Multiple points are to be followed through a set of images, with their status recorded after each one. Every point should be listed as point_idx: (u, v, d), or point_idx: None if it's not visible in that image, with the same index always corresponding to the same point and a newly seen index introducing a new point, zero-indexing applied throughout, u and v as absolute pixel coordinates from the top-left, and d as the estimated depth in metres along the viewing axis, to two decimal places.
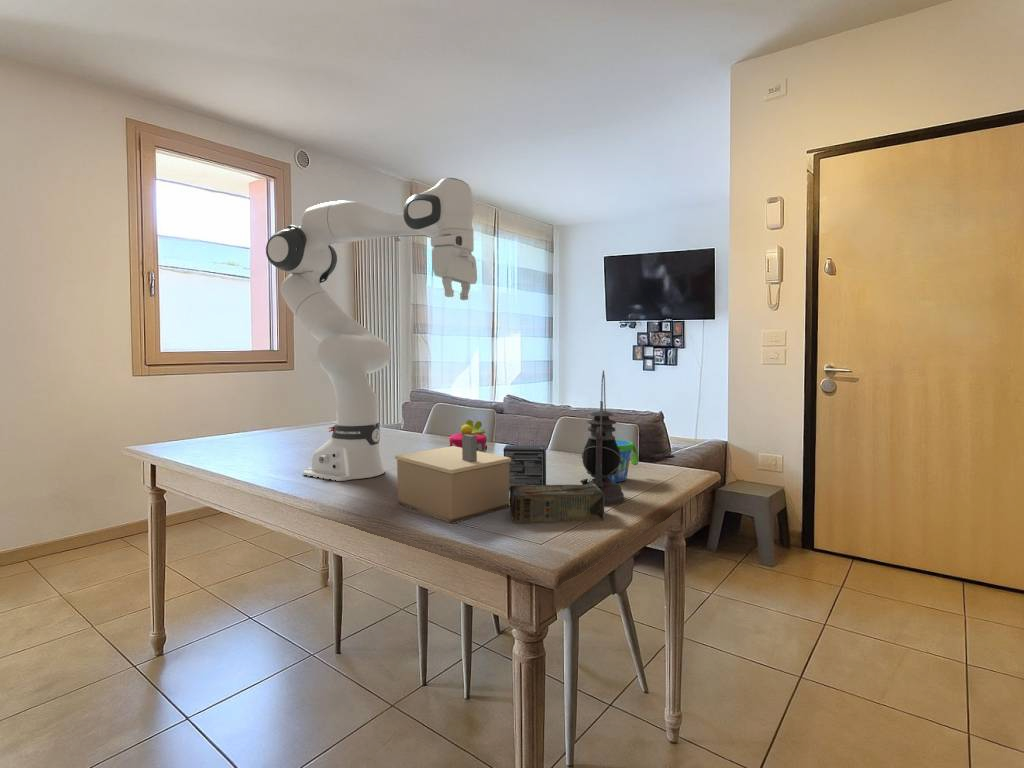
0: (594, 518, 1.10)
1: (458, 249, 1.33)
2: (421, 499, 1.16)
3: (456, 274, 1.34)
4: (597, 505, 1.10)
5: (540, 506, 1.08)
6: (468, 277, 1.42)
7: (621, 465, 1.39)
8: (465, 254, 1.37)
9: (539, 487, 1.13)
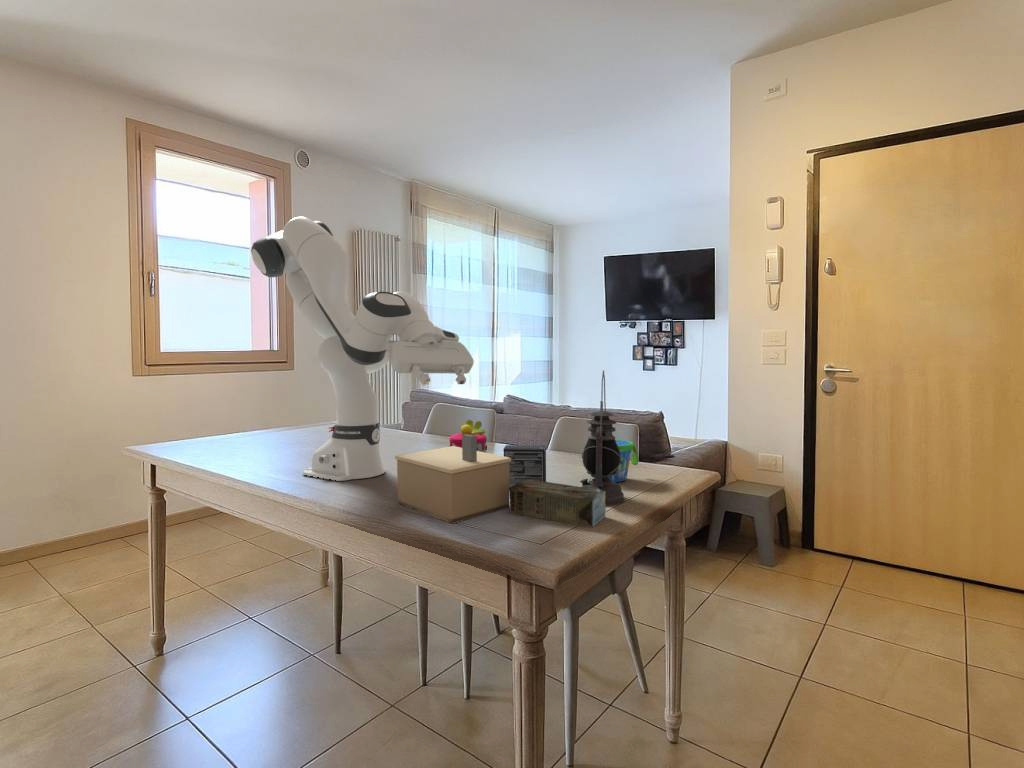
0: (583, 523, 1.07)
1: None
2: (421, 499, 1.16)
3: None
4: (585, 510, 1.06)
5: (531, 501, 1.12)
6: None
7: (621, 465, 1.39)
8: None
9: (545, 484, 1.16)
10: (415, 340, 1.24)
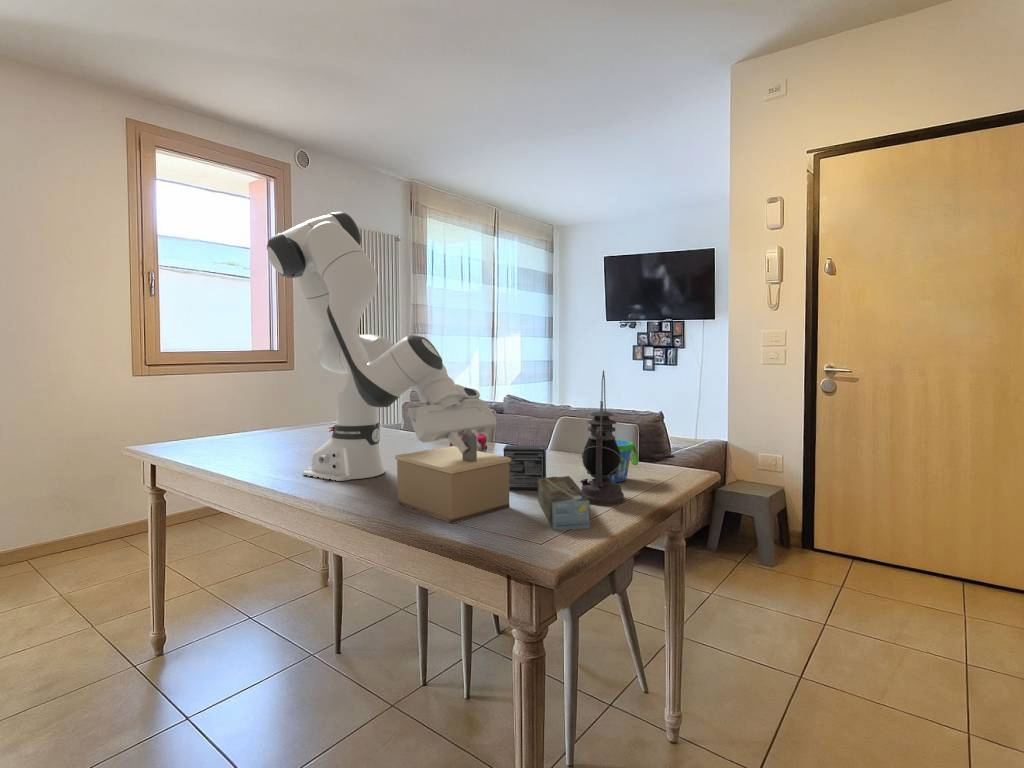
0: (551, 524, 1.06)
1: None
2: (421, 499, 1.16)
3: None
4: (550, 511, 1.06)
5: (540, 494, 1.17)
6: None
7: (621, 465, 1.39)
8: None
9: (564, 482, 1.17)
10: (438, 402, 1.18)
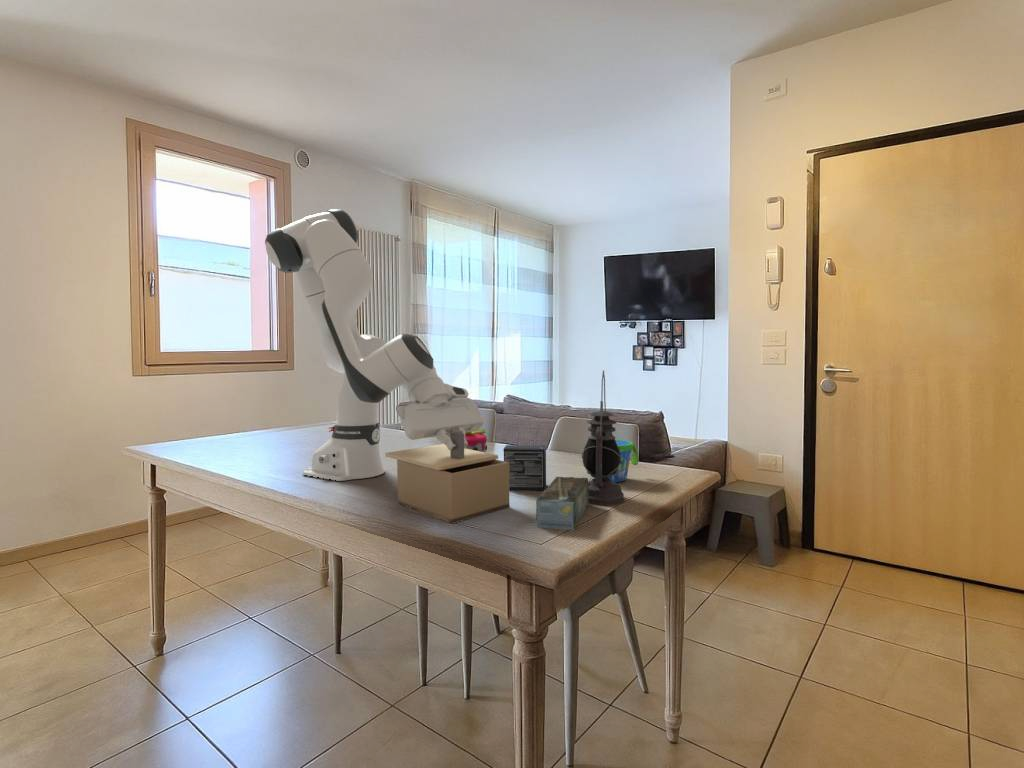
0: None
1: None
2: (421, 499, 1.16)
3: None
4: None
5: None
6: None
7: (621, 465, 1.39)
8: None
9: (572, 483, 1.16)
10: (426, 401, 1.21)
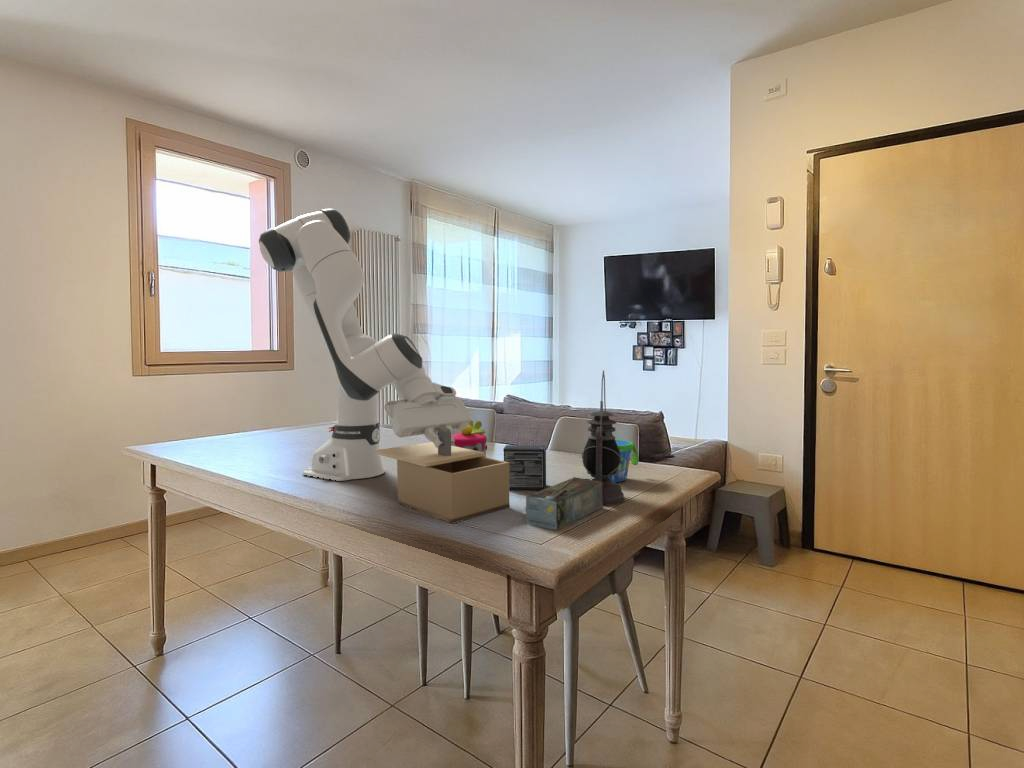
0: None
1: None
2: (421, 499, 1.16)
3: None
4: None
5: None
6: None
7: (621, 465, 1.39)
8: None
9: (578, 484, 1.15)
10: (414, 400, 1.24)
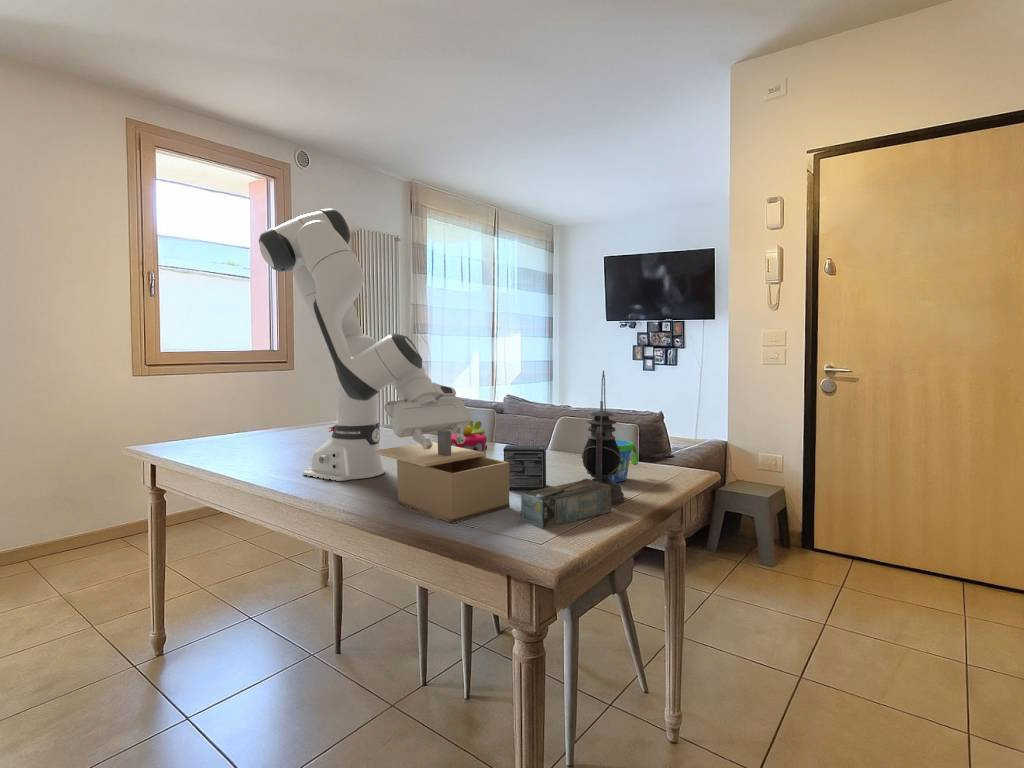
0: None
1: None
2: (421, 499, 1.16)
3: None
4: None
5: None
6: None
7: (621, 465, 1.39)
8: None
9: (582, 486, 1.14)
10: (414, 400, 1.24)
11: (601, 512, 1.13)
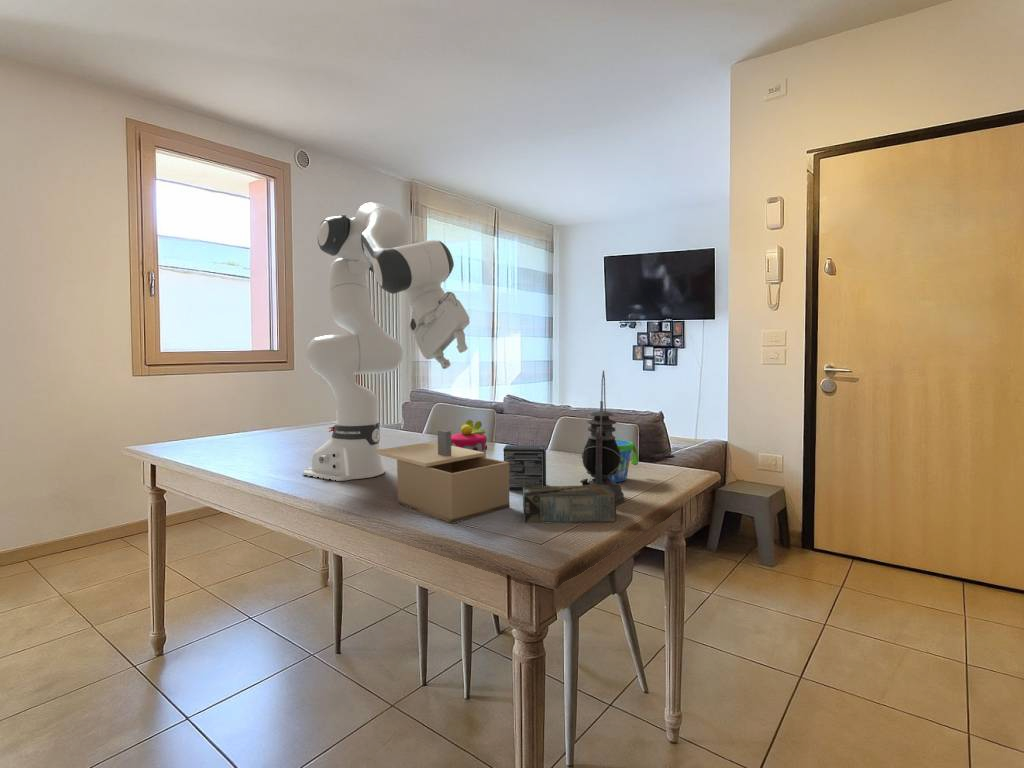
0: None
1: (419, 329, 1.34)
2: (421, 499, 1.16)
3: (432, 348, 1.33)
4: None
5: None
6: (445, 332, 1.27)
7: (621, 465, 1.39)
8: (425, 324, 1.31)
9: (584, 489, 1.11)
10: None
11: (600, 519, 1.09)
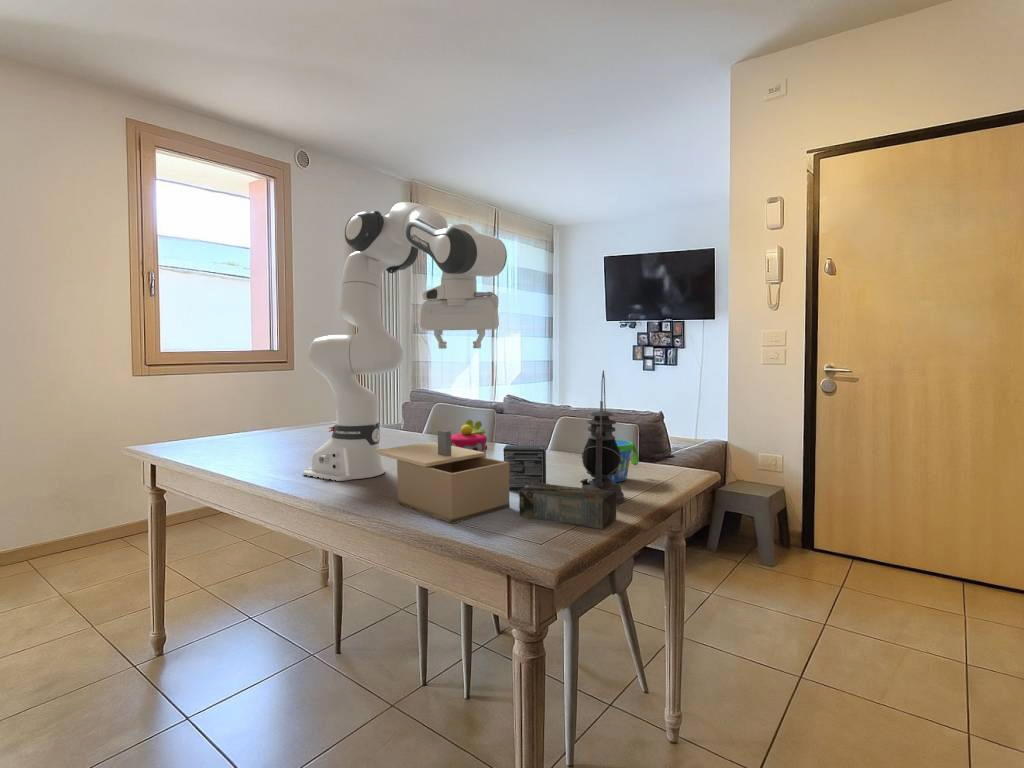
0: None
1: (435, 302, 1.34)
2: (421, 499, 1.16)
3: (440, 326, 1.35)
4: None
5: None
6: (470, 324, 1.32)
7: (621, 465, 1.39)
8: (450, 304, 1.32)
9: (579, 492, 1.09)
10: None
11: (588, 524, 1.06)
